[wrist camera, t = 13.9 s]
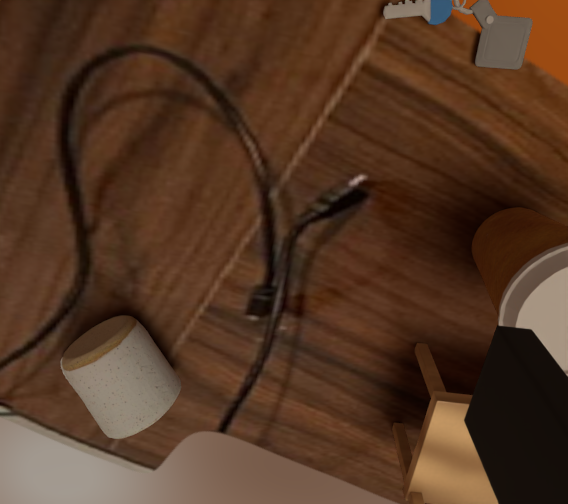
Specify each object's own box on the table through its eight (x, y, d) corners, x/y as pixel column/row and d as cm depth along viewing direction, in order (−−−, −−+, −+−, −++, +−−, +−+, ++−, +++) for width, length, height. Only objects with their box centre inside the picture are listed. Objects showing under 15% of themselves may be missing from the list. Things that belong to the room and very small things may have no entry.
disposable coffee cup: (438, 285, 42) (486, 375, 31) (471, 179, 38) (539, 239, 27) (545, 300, 43) (630, 394, 32) (589, 196, 39) (703, 263, 28)
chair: (414, 340, 45) (481, 520, 28) (533, 354, 45) (667, 541, 28) (389, 430, 49) (433, 631, 33) (497, 443, 49) (594, 649, 33)
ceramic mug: (143, 298, 44) (112, 350, 37) (191, 366, 46) (170, 426, 39) (49, 339, 46) (3, 395, 39) (100, 401, 49) (65, 464, 42)
